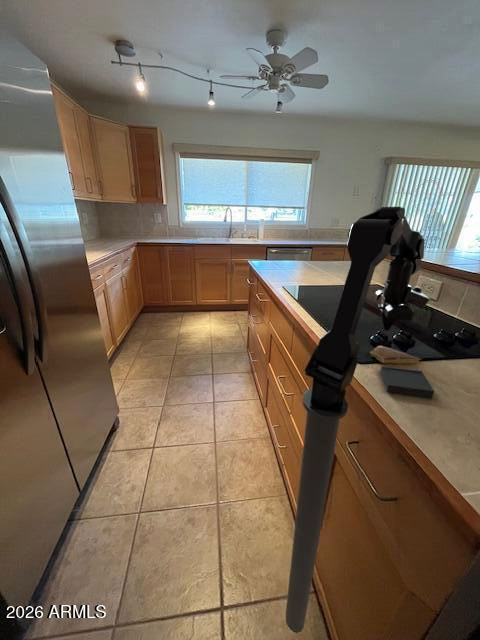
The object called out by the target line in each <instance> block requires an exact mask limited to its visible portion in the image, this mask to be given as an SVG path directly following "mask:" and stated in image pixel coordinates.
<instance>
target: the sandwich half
mask: <svg viewBox="0 0 480 640" xmlns="http://www.w3.org/2000/svg"><path fill="white" fill-rule="evenodd" d="M369 354H370V357H372V358H375V359H376V360H377V361H379V363H382V364H414V363H415V364H417V363H420V361H421V360H422V358H421V357H417V356H414V355H410V354H407V353H405V352H403V351H399V350H397V349H393V348H391V347H387V346H385V345H378V346H376V347H375V348H373V349H372V350H370V353H369Z"/></svg>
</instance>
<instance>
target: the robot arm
mask: <svg viewBox="0 0 480 640" xmlns="http://www.w3.org/2000/svg"><path fill="white" fill-rule="evenodd" d="M425 243H426V240H425V238H424V236H423V234H422V233H421V232H419V231H415V230H412V228H411V226H410V224H409V222H408V219H407V218H406V208H405V207H402V206H381V207H378V208H377V209H376V210H375V211H374V212H371V213H368V214H366V215H363V216H361V217H359V218H357V220H356V221H354V222H353V223H352V224H351V226H350V227H349V229H348V233H347V243H346V249H347V253H348V256H349V260H350V264H349V267H348V271H347V274H346V277H345V281H344V284H343V288H342V291H341V294H340V298H339V302H338V305H337V308H336V312H335V315H334V319H333V322H332V326H331V328H330V330H329V331H327V332H326V333H325V334H324V335H323V336H321V337H320V339H319V341H318V344H317V345H316V347H315V349H314V350H313V352H312V355H311V357H310V358H309V361H308V362H307V364H306V366H305V368H304V373H305V376H307V377H310V378H312V383H311V388H312V389H311V388H310V389H311V393H310V408H312V409H318V410H324V411H330V412H336V413H341V406H342V405H343V403H344V398H345V397H346V388H347V387H349V385H350V384H351V383H352V382H353V379H354V376H355V375H354V374H355V372H356V369H357V365H358V361H359V360H358V354H359V351H360V349H361V345H360V343H359V342H357V338H356V332H357V328H358V325H359V321H360V318H361V315H362V312H363V309H364V305H365V303H366V299H367V296H368V292H369V289H370V286H371V283H372V279H373V277H374V273H375V271H376V268H377V266H378V265H380V263H382V262H383V261H384V260H385V259H386V258H387V257H388V256H389V255H390V257H392V260H390V261H389V263H388V270H387V274H386V279H385V280H383V283H382V285H383V286H384V288H383V289H378V290H377V291H375V293H374V299H375V300H376V301H379V299H380V300H381V303H378V304H377V306H378V310H379V315H380V318H381V322H382V326H383V330H384V331H388V332H389V331H390V329H391V328H392V326H393V324H394V323H395V322H396V320H399V321H410V322H411V321H413V320H414V318H415V317H414V316H415V312H414V311H413V310H412V309H411V308H410V306H409V304H412V305H414V306H416V307H418V308H420V309H424V308H425V307H426V305H427V304H428V303H429V301H430V300H431V298H430V297H429V296H427V294H425V293H423V292H422V288H421V287H419V286H416V285H414V286H411V285H410V281H411V278H412V276H413V275H414V274H416V273H418V272H419V271H420V270H421V269H422V267H423V261H422V260H423V259H424V257H425ZM393 257H394V258H393Z"/></svg>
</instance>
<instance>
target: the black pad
mask: <svg viewBox="0 0 480 640" xmlns="http://www.w3.org/2000/svg"><path fill="white" fill-rule="evenodd" d="M379 374H380V377H381V380H382V382H383V386H384V388H385V391H386V393H391V394H397V395H405V396H411V397H418V398H425V399H431V400H432V399H433V396H434V394H435V390H434V388H433V386H432V385H431V384H430V381H429V380H428V378H426V376H425V374H424V372H423V370H419V369H410V368H402V367H394V366H386V365H380V370H379Z"/></svg>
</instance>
